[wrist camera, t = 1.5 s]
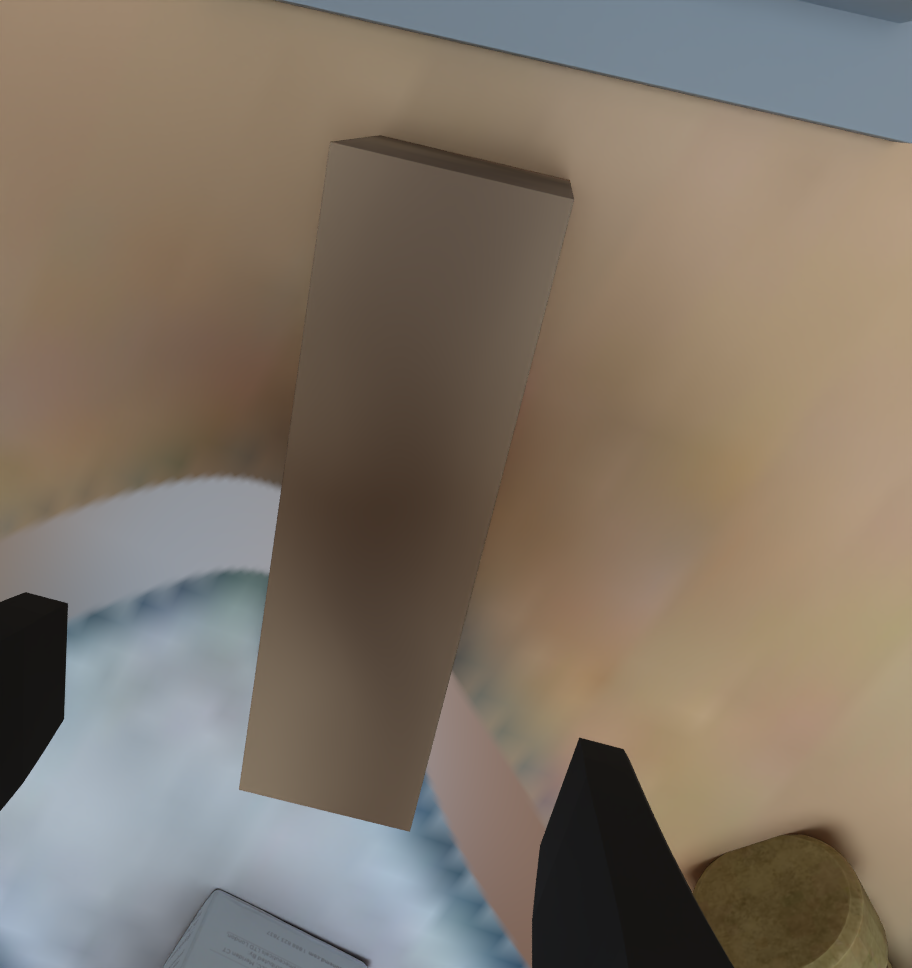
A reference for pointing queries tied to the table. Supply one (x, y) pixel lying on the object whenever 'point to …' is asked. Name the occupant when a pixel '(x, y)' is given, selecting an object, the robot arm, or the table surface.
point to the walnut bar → (394, 463)
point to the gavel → (791, 907)
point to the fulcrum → (698, 48)
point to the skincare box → (250, 941)
